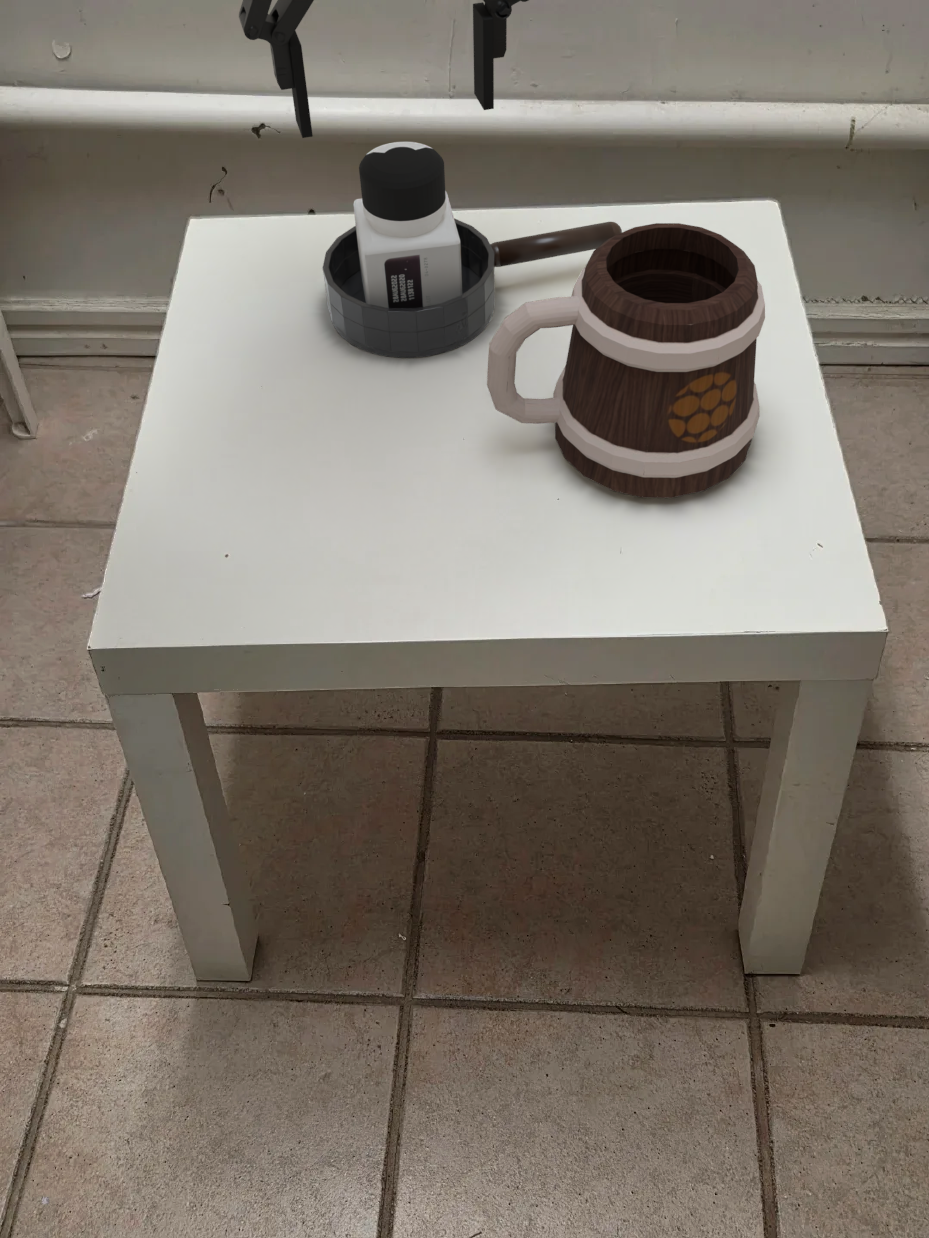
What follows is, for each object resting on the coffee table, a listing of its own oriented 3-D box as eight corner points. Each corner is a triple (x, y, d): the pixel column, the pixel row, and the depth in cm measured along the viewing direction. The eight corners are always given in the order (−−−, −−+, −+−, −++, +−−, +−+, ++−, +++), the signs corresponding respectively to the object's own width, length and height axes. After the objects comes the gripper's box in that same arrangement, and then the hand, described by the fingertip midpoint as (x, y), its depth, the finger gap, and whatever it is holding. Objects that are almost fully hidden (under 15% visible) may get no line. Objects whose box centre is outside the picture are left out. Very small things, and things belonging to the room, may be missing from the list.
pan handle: (488, 274, 99) (488, 253, 98) (482, 260, 101) (481, 239, 99) (624, 248, 101) (626, 228, 100) (616, 236, 102) (618, 215, 101)
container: (463, 322, 98) (458, 177, 88) (371, 333, 98) (355, 188, 88) (450, 268, 103) (443, 125, 93) (361, 279, 103) (345, 136, 93)
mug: (724, 364, 95) (754, 192, 83) (777, 496, 85) (818, 323, 74) (476, 388, 94) (471, 217, 82) (501, 524, 84) (499, 353, 73)
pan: (347, 372, 96) (341, 325, 92) (316, 274, 104) (309, 229, 101) (515, 339, 98) (515, 293, 94) (469, 247, 106) (468, 201, 103)
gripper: (550, -265, 76) (541, 68, 92) (157, -224, 72) (219, 116, 88) (589, -231, 71) (572, 113, 87) (170, -185, 67) (234, 166, 84)
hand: (395, 115), depth 88 cm, fingers open, 13 cm apart
